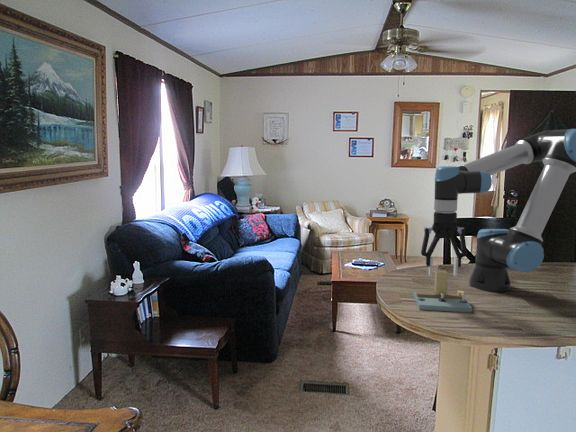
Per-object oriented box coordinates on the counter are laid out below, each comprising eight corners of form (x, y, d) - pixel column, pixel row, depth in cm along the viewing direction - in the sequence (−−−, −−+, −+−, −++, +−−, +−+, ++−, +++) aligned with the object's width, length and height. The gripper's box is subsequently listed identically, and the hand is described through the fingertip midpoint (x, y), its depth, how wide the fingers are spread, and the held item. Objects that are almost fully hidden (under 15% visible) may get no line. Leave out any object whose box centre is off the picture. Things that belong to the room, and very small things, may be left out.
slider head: (444, 294, 163) (445, 270, 162) (447, 300, 157) (449, 275, 156) (433, 294, 164) (435, 270, 163) (437, 299, 158) (438, 274, 156)
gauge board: (461, 298, 166) (462, 287, 165) (471, 312, 152) (472, 300, 151) (413, 296, 168) (413, 285, 167) (419, 309, 154) (419, 297, 153)
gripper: (473, 210, 160) (470, 273, 163) (413, 209, 162) (411, 271, 166) (479, 213, 152) (476, 279, 156) (416, 212, 155) (414, 277, 159)
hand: (442, 275), depth 161 cm, fingers open, 8 cm apart
